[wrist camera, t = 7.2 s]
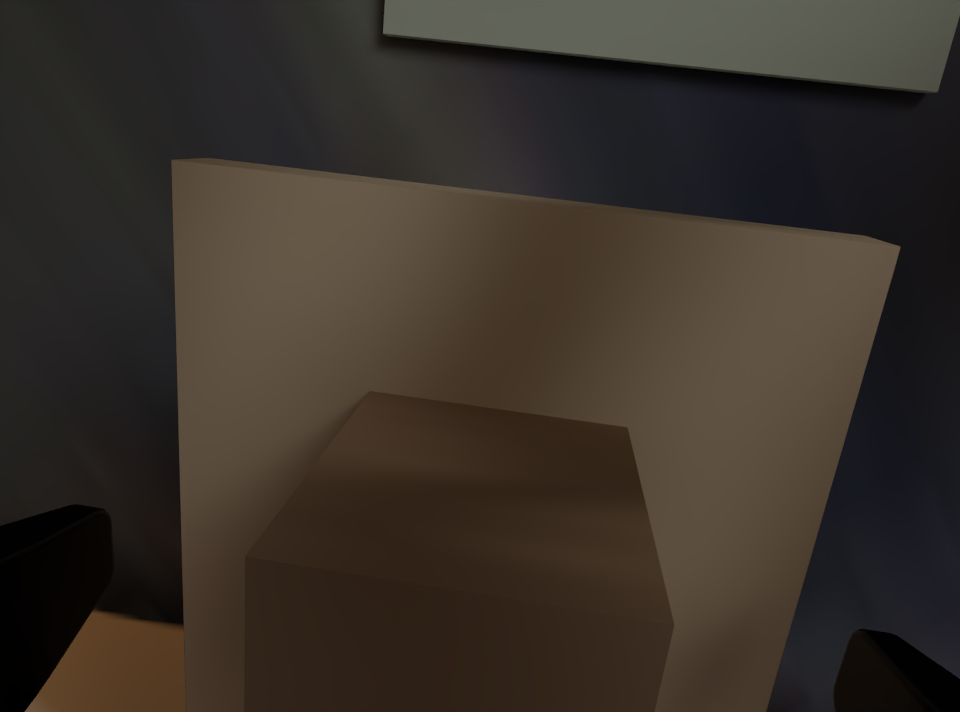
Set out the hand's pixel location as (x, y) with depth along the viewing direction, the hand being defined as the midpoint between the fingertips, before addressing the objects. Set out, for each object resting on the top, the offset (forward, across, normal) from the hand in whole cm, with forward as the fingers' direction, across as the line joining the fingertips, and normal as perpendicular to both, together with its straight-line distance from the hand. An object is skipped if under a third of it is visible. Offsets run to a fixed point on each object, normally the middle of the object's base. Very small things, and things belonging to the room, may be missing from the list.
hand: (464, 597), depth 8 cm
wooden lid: (+3, 0, 0) cm, 3 cm away
